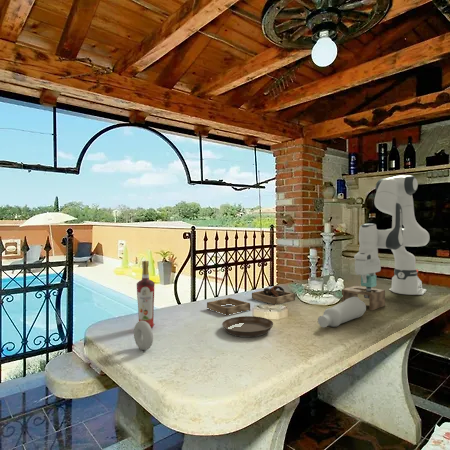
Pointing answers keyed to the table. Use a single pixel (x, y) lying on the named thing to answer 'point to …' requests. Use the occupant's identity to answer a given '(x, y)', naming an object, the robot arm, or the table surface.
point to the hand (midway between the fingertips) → (368, 282)
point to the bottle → (342, 312)
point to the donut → (143, 335)
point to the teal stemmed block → (369, 283)
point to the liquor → (146, 296)
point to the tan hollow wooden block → (374, 297)
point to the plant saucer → (248, 326)
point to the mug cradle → (273, 300)
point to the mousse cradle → (237, 308)
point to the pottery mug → (272, 291)
